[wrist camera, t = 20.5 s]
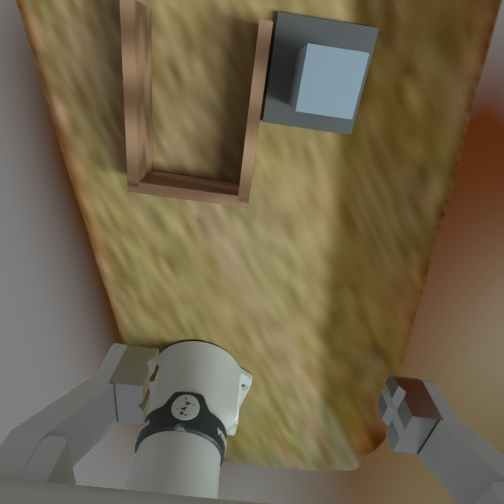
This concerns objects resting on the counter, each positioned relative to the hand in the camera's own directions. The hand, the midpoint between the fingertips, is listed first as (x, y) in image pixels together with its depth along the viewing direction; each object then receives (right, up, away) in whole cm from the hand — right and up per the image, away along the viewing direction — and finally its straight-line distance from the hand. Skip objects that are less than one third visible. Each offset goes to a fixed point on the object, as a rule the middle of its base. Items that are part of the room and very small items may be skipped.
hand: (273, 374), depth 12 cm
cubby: (-6, +21, +24) cm, 33 cm away
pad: (+6, +23, +23) cm, 33 cm away
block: (+6, +22, +23) cm, 32 cm away
